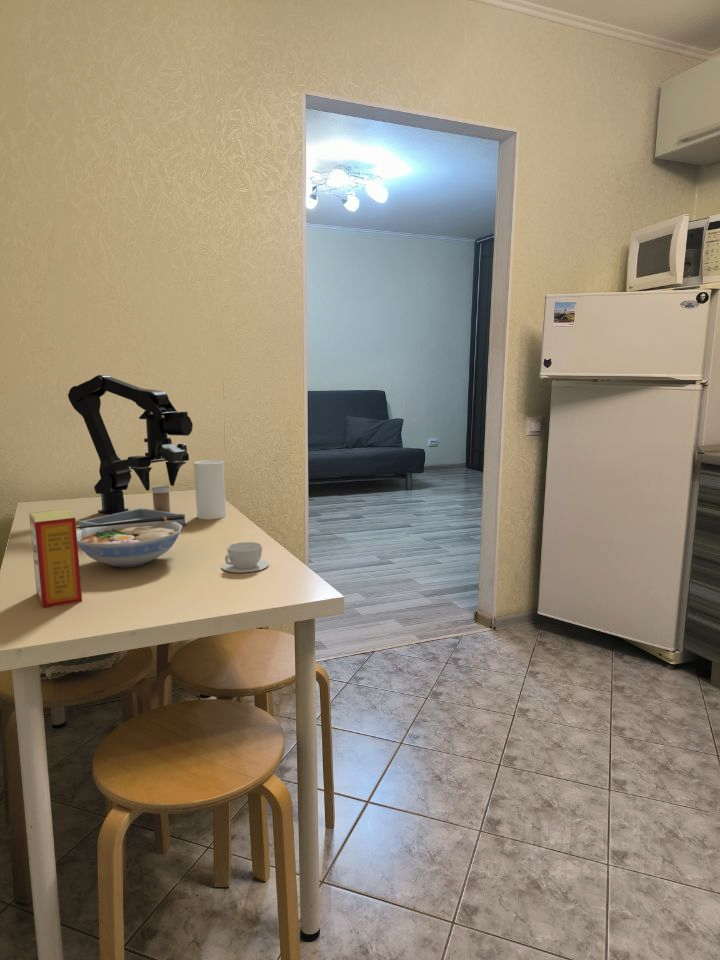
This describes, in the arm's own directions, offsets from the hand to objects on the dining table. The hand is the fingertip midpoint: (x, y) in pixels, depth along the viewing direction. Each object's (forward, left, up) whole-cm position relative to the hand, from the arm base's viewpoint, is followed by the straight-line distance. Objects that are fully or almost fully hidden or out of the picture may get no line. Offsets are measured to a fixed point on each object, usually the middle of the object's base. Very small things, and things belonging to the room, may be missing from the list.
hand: (160, 488), depth 192 cm
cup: (+14, +6, -8) cm, 18 cm away
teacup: (+57, -27, -9) cm, 64 cm away
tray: (+7, -16, -8) cm, 19 cm away
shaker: (0, 0, -8) cm, 8 cm away
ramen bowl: (+33, -38, -8) cm, 51 cm away
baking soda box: (+40, -60, -8) cm, 72 cm away
